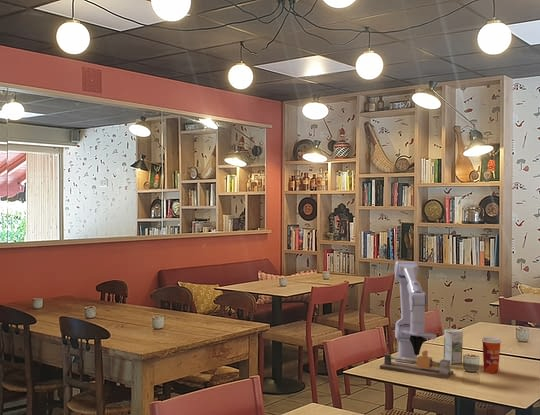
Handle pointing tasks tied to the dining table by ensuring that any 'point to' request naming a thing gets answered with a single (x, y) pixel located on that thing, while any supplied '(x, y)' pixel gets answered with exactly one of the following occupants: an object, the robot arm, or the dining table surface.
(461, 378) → the dining table surface
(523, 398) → the dining table surface
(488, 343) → the paper cup
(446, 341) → the syrup box
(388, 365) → the grey slider rail
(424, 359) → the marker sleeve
